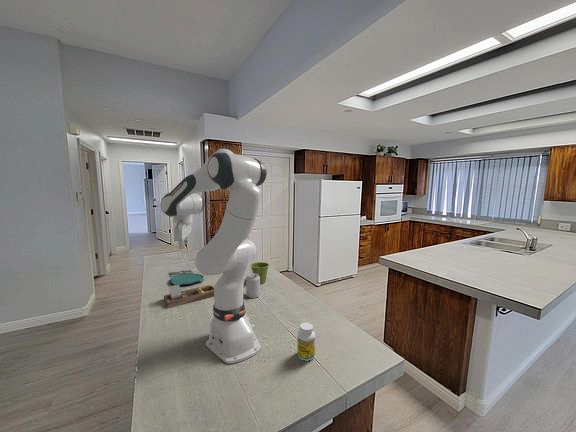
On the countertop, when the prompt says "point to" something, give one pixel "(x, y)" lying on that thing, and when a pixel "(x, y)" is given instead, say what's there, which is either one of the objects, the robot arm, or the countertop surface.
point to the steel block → (174, 292)
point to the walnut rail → (186, 298)
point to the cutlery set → (185, 278)
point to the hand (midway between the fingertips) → (183, 245)
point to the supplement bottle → (306, 342)
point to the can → (253, 285)
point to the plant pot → (260, 270)
